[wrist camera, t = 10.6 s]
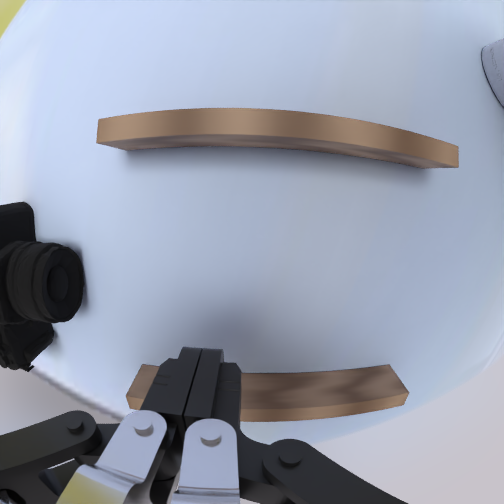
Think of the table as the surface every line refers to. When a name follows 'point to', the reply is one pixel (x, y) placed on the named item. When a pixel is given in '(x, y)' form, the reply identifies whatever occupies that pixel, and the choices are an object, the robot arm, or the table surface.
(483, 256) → the table surface
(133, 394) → the walnut chute
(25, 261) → the film camera
